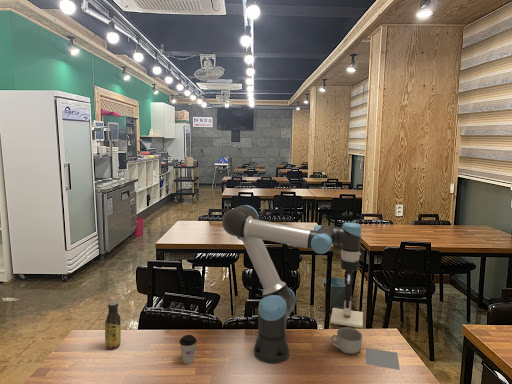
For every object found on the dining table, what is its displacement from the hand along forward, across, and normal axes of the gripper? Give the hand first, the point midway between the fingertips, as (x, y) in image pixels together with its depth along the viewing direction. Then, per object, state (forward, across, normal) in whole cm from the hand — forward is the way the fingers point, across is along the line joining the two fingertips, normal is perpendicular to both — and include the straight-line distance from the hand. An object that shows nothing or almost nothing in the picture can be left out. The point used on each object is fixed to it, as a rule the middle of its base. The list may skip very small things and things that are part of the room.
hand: (347, 312), depth 157 cm
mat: (+17, -2, -15) cm, 23 cm away
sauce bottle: (+18, -28, +97) cm, 102 cm away
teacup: (+18, 0, 0) cm, 18 cm away
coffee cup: (+18, -28, +61) cm, 69 cm away
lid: (+3, 0, 0) cm, 3 cm away
